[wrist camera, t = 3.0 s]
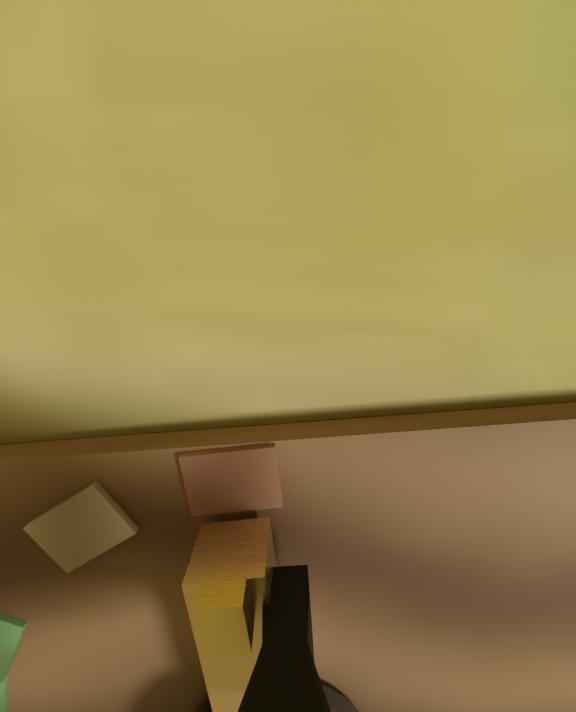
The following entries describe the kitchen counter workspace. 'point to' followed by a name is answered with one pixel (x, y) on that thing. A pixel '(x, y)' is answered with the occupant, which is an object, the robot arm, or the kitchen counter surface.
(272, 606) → the robot arm
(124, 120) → the kitchen counter surface
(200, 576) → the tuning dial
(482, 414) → the brown flat square slab
